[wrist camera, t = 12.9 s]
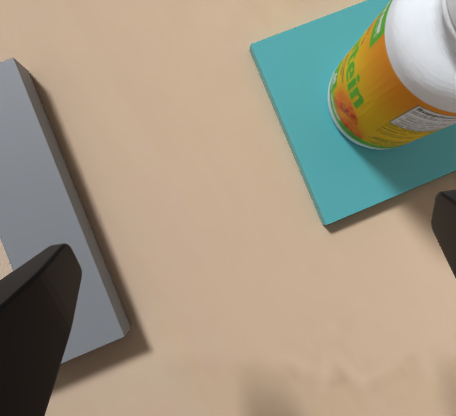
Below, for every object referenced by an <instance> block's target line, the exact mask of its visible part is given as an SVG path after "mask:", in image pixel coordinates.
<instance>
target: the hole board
mask: <svg viewBox="0 0 456 416" xmlns="http://www.w3.org/2000/svg"><path fill="white" fill-rule="evenodd" d="M0 238H1V241H2V243H3V246H4V248H5V251H6V254H7V256H8V259H9V261H10V264H11V266H12V269H13V271H14V270H16V269H17V268H19V267H20V266H21V265H23V264H24V263H26V262H27V261H29V260H30V259H32V258H33V257H34V256H36V255H37V254H39V253H40V252H42V251H43V250H44V249H46V248H47V247H49V246H51V245H55V244H62V243H66V244H69V245H70V246H71V248H72V250H73V252H74V254H75V256H76V258H77V260H78V262H79V264H80V266H81V269H82V279H81V284H80V289H79V294H78V299H77V305H76V310H75V315H74V320H73V324H72V329H71V332H70V336H69V339H68V342H67V346H66V349H65V352H64V355H63V358H62V362H61V363H64V362H66V361H68V360H71V359H73V358H75V357H78V356H80V355H82V354H85V353H87V352H89V351H92V350H94V349H96V348H99V347H101V346H103V345H106V344H108V343H110V342H113V341H115V340H117V339H120V338H122V337H124V336H125V335H126V334H127V332H128V331H129V330H130V329H131V326H130V324H129V321H128V319H127V316H126V314H125V311H124V309H123V306H122V304H121V301H120V299H119V296H118V294H117V291H116V289H115V286H114V284H113V281H112V279H111V276H110V274H109V271H108V269H107V266H106V264H105V261H104V259H103V256H102V254H101V251H100V249H99V246H98V244H97V241H96V239H95V236H94V234H93V231H92V229H91V226H90V224H89V221H88V219H87V216H86V214H85V211H84V209H83V206H82V204H81V201H80V199H79V196H78V194H77V191H76V189H75V186H74V184H73V181H72V179H71V176H70V174H69V171H68V168H67V166H66V163H65V161H64V158H63V156H62V153H61V151H60V148H59V146H58V143H57V141H56V138H55V136H54V133H53V131H52V128H51V126H50V123H49V121H48V118H47V116H46V113H45V111H44V108H43V106H42V103H41V101H40V98H39V96H38V93H37V91H36V88H35V86H34V83H33V81H32V78H31V76H30V73H29V71H28V70H27V69H25V68H24V67H23V66H22V65H21V64H20V63H19V62H17V61H16V60H15V59H14V58H11V59H8V60H5V61H3V62H0Z"/></svg>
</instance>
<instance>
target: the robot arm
mask: <svg viewBox="0 0 456 416" xmlns="http://www.w3.org/2000/svg"><path fill="white" fill-rule="evenodd" d="M431 225H432V230H433V232H434V234H435V236H436V238H437V240H438V243H439V245H440V247H441V249H442V251H443V253H444V255H445V257H446V259H447V261H448V263H449V265H450V268H451V270H452V272H453V274H454V276H455V278H456V190H451V191H444V192H439V193H438V194H437V195H436V198H435V203H434V209H433V214H432V221H431ZM81 279H82V269H81V266H80V264H79V262H78V260H77V258H76V256H75V254H74V252H73V250H72V248H71V246H70V245H69V244H66V243H62V244H55V245H51V246H49V247H47V248H46V249H44V250H43V251H42V252H40V253H39V254H37V255H36V256H34V257H33V258H32V259H30V260H29V261H27V262H26V263H24V264H23V265H21V266H20V267H19V268H17V269H16V270H14V271H13V272H11V273H10V274H9V275H7V276H6V277H4V278H3V279H1V280H0V416H45V413H46V409H47V406H48V403H49V400H50V397H51V393H52V390H53V387H54V384H55V381H56V377H57V374H58V371H59V368H60V365H61V362H62V358H63V355H64V352H65V349H66V346H67V342H68V339H69V336H70V332H71V329H72V324H73V320H74V315H75V310H76V305H77V299H78V294H79V289H80V284H81Z"/></svg>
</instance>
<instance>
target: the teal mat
mask: <svg viewBox="0 0 456 416" xmlns="http://www.w3.org/2000/svg"><path fill="white" fill-rule="evenodd" d="M389 2H390V0H367V1H364V2H362V3H359V4H356V5H354V6H351V7H349V8H346V9H343V10H341V11H338V12H335V13H333V14H330V15H327V16H325V17H322V18H319V19H317V20H314V21H311V22H309V23H306V24H303V25H301V26H298V27H295V28H293V29H290V30H288V31H285V32H282V33H280V34H277V35H274V36H272V37H269V38H266V39H264V40H261V41H258V42H256V43H253V44H251V46H250V52H251V55H252V57H253V59H254V62H255V64H256V67H257V69H258V71H259V74H260V76H261V79H262V81H263V83H264V86H265V88H266V91H267V93H268V95H269V98H270V100H271V102H272V105H273V107H274V110H275V112H276V114H277V117H278V119H279V122H280V124H281V126H282V129H283V131H284V133H285V136H286V138H287V141H288V143H289V145H290V148H291V150H292V153H293V155H294V157H295V160H296V162H297V164H298V167H299V169H300V172H301V174H302V176H303V179H304V181H305V184H306V186H307V188H308V191H309V193H310V196H311V198H312V200H313V203H314V205H315V207H316V210H317V212H318V215H319V217H320V219H321V222H322V224H323V225H328V224H330V223H333V222H335V221H337V220H340V219H342V218H344V217H347V216H349V215H352V214H354V213H356V212H359V211H361V210H363V209H366V208H368V207H371V206H373V205H375V204H378V203H380V202H382V201H385V200H387V199H390V198H392V197H394V196H397V195H399V194H401V193H404V192H406V191H409V190H411V189H413V188H416V187H418V186H420V185H423V184H425V183H427V182H430V181H432V180H435V179H437V178H439V177H442V176H444V175H446V174H449V173H451V172H454V171H456V123H455V124H453V125H450V126H448V127H445V128H443V129H441V130H438V131H436V132H434V133H431V134H429V135H426V136H424V137H422V138H419V139H417V140H414V141H412V142H410V143H407V144H405V145H402V146H399V147H396V148H392V149H385V150H377V149H370V148H366V147H363V146H360V145H358V144H356V143H354V142H352V141H351V140H349V139H348V138H347V137H346V136H344V135H343V134H342V133H341V131H340V130H339V129H338V128H337V126H336V125H335V123H334V121H333V119H332V117H331V114H330V111H329V107H328V87H329V83H330V80H331V77H332V75H333V73H334V71H335V69H336V68H337V66H338V65H339V63H340V62H341V61H342V59H343V58H344V57H345V56H346V54H347V53H348V52H349V51H350V50H351V49H352V47H353V46H354V45H355V44H356V42H357V41H358V40H359V39H360V37H361V36H362V35H363V34H364V33H365V31H366V30H367V29H368V28H369V27H370V25H371V24H372V23H373V22H374V20H375V19H376V18H377V17H378V15H379V14H380V13H381V12H382V10H383V9H384V8H385V7H386V5H387V4H388V3H389Z"/></svg>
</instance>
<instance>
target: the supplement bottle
mask: <svg viewBox="0 0 456 416" xmlns="http://www.w3.org/2000/svg"><path fill="white" fill-rule="evenodd" d="M328 107H329V111H330V114H331V117H332V119H333V121H334V123H335V125H336V126H337V128H338V129H339V130H340V131H341V133H342V134H343V135H344V136H346V137H347V138H348V139H349V140H351V141H352V142H354V143H356V144H358V145H360V146H363V147H366V148H370V149H377V150H385V149H392V148H396V147H399V146H402V145H405V144H407V143H410V142H412V141H414V140H417V139H419V138H422V137H424V136H426V135H429V134H431V133H434V132H436V131H438V130H441V129H443V128H445V127H448V126H450V125H453V124H455V123H456V0H390V2H389V3H388V4H387V5H386V7H385V8H384V9H383V10H382V12H381V13H380V14H379V15H378V17H377V18H376V19H375V20H374V22H373V23H372V24H371V25H370V27H369V28H368V29H367V30H366V31H365V33H364V34H363V35H362V36H361V37H360V39H359V40H358V41H357V42H356V44H355V45H354V46H353V47H352V49H351V50H350V51H349V52H348V53H347V54H346V56H345V57H344V58H343V59H342V61H341V62H340V63H339V65H338V66H337V68H336V69H335V71H334V73H333V75H332V77H331V80H330V83H329V87H328Z"/></svg>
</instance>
